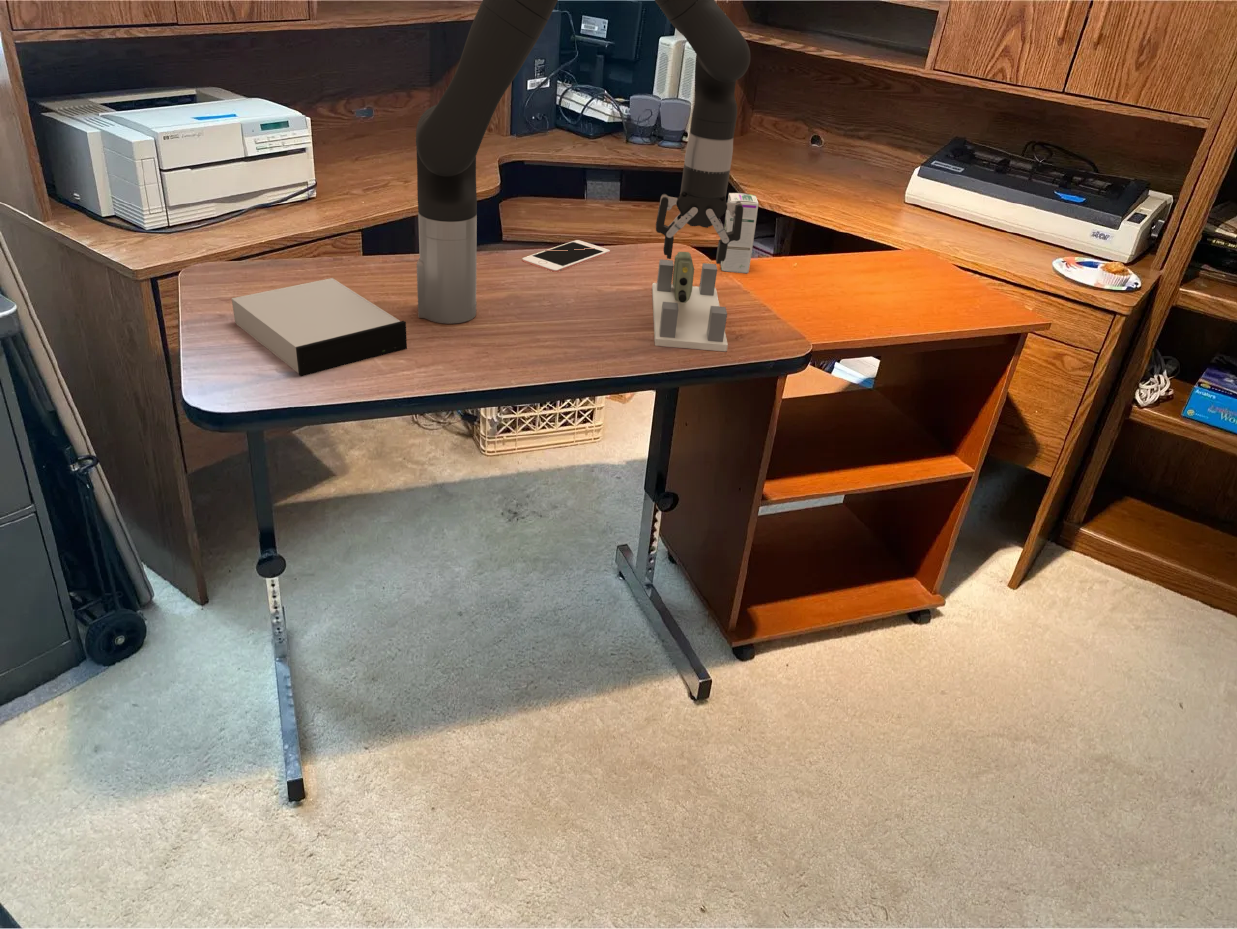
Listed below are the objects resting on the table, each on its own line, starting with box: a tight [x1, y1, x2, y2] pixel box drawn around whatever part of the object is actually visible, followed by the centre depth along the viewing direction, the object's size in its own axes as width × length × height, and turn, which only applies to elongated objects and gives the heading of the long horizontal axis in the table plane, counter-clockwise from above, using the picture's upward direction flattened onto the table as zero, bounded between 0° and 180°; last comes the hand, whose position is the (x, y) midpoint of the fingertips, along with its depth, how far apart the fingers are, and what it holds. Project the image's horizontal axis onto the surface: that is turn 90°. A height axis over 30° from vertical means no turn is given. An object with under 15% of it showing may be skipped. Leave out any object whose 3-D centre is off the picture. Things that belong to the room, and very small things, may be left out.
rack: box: [651, 258, 729, 352], centre depth 162 cm, size 12×26×6 cm, turn 179°
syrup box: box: [719, 192, 759, 274], centre depth 185 cm, size 6×6×14 cm
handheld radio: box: [672, 251, 695, 303], centre depth 161 cm, size 7×3×25 cm
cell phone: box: [521, 239, 611, 273], centre depth 186 cm, size 9×18×1 cm, turn 144°
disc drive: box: [231, 277, 408, 377], centre depth 144 cm, size 18×22×5 cm
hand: (693, 260), depth 158 cm, fingers open, 8 cm apart
